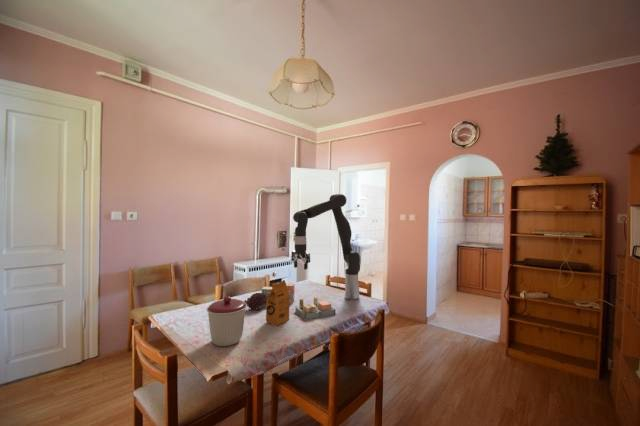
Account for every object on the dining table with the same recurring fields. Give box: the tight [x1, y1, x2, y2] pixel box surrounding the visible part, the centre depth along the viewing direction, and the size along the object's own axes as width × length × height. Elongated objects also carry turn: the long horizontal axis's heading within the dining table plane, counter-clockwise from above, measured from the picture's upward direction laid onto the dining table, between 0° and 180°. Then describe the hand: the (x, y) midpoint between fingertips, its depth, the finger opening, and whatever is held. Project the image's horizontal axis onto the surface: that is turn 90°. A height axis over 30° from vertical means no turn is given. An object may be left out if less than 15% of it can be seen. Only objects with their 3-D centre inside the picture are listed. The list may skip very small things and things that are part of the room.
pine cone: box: [243, 292, 268, 311], centre depth 172 cm, size 18×10×10 cm, turn 132°
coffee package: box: [265, 279, 291, 326], centre depth 153 cm, size 10×12×22 cm
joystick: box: [313, 296, 332, 311], centre depth 171 cm, size 6×16×6 cm, turn 28°
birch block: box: [298, 298, 318, 314], centre depth 167 cm, size 6×16×6 cm, turn 28°
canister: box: [205, 295, 248, 347], centre depth 129 cm, size 18×18×21 cm
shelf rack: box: [295, 306, 336, 321], centre depth 167 cm, size 20×14×3 cm
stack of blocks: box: [261, 282, 295, 305], centre depth 186 cm, size 21×6×12 cm, turn 85°
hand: (300, 268), depth 176 cm, fingers open, 8 cm apart
